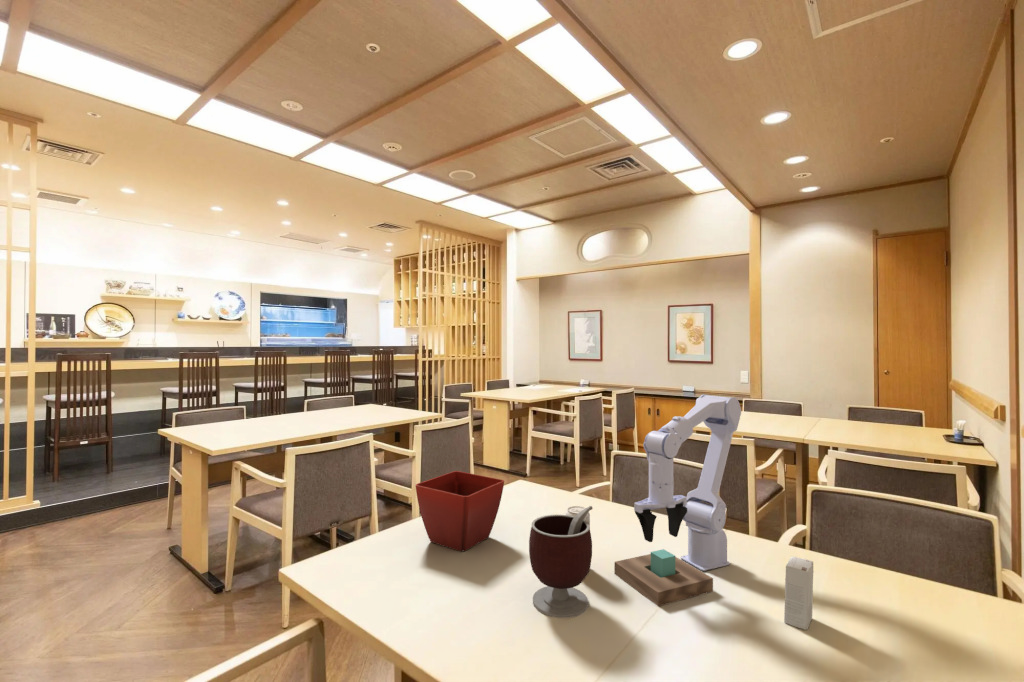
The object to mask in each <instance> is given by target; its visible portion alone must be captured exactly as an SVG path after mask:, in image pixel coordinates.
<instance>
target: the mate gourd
mask: <svg viewBox="0 0 1024 682" xmlns="http://www.w3.org/2000/svg"><path fill="white" fill-rule="evenodd" d="M592 510H593V506H592V505H589V506H588V507H585V509H584V510H582V511H581V512H579V513H578V514H577V515H576V516H575V517H574V516H569V515H566V514H548V515H547V514H546V515H543V516H539V517H537V518H535V519H534V520H533V521H532V522H531V527H530V532H529V540H528V553H529V560H530V562H529V563H530V566H531V570H532V572H533V574H534V575H535V576H536V577H537V579H538V580H539V581H540V583H542V585H545V586H544V587H541V588H539V589H537V590H536V591H535V592H534V593H533V596H532V605H533V607H534V608H535V609H536V610H537V611H538V612H540V613H541V614H543V615H546V616H548V617H552V618H557V619H569V618H575V617H577V616H580V615H582V614H583V613H585V612H586V611H587V610H588V608H589V598H588V597H587V595H586V594H585V593H584V592H582V591H581V590H580V589H578V588H576V587H578V586H579V585H581V583H583V581H584V580H585V579H586V577H587V576H588V575H589V572H590V569H591V565H592V564H591V563H592V557H593V541H592V533H591V528H590V527H591V526H589V524H588V523H587V522H586V521H585V520H584V518H585V516H586V515H587V513H588V512H589V513H590V511H592ZM589 528H590V529H589Z"/></svg>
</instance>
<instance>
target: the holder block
mask: <svg viewBox="0 0 1024 682" xmlns="http://www.w3.org/2000/svg"><path fill="white" fill-rule="evenodd" d="M613 569H614V571H613V572H614V575H616V576H617V577H618V578H619V579H621V580H622V581H623V582H625V584H627V585H629V586H630V587H631V588H633V589H634V590H636V591H637V592H638V593H640V594H641V595H642V596H644V597H645V598H646V599H648V600H649V601H650V602H652V603H653V604H655V605H656V607H660V606H664V605H668V604H671V603H675V602H679V601H682V600H686V599H689V598H692V597H693V598H694V597H696V596H697V597H698V596H699V595H700V596H701V595H704V594H708V593H712V592H714V577H711V576H710V575H708V574H706V573H704V571H702V570H700V569H698V568H696V567H695V566H693V565H691V564H689V563H688V562H686V561H684V560H682V559H681V558H679V557H677V556H675V574H674V575H670V576H666V577H662V578H660V577H659V576H657V575H656V574H654V573H653V572H651V553H650V554H645V555H640V556H633V557H631V558H626V559H621V560H617V561H614V568H613Z"/></svg>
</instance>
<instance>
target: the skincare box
mask: <svg viewBox="0 0 1024 682" xmlns="http://www.w3.org/2000/svg"><path fill="white" fill-rule="evenodd" d="M784 580H785V582H784V615H783V617H784V619H783V621H784V623H785V624H788V625H790V626H793V627H795V628H797V629H798V628H799V629H801V630H804V631H805V630H806V631H808V629H809V626H810V624H811V621H812V619H813V609H814V608H813V604H814V603H813V600H814V599H813V598H814V597H813V596H814V595H813V594H814V593H813V592H814V561H813V560H810V559H805V558H802V557H797V556H790V558H789V559H788V561H787V563H786V565H785V579H784Z"/></svg>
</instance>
